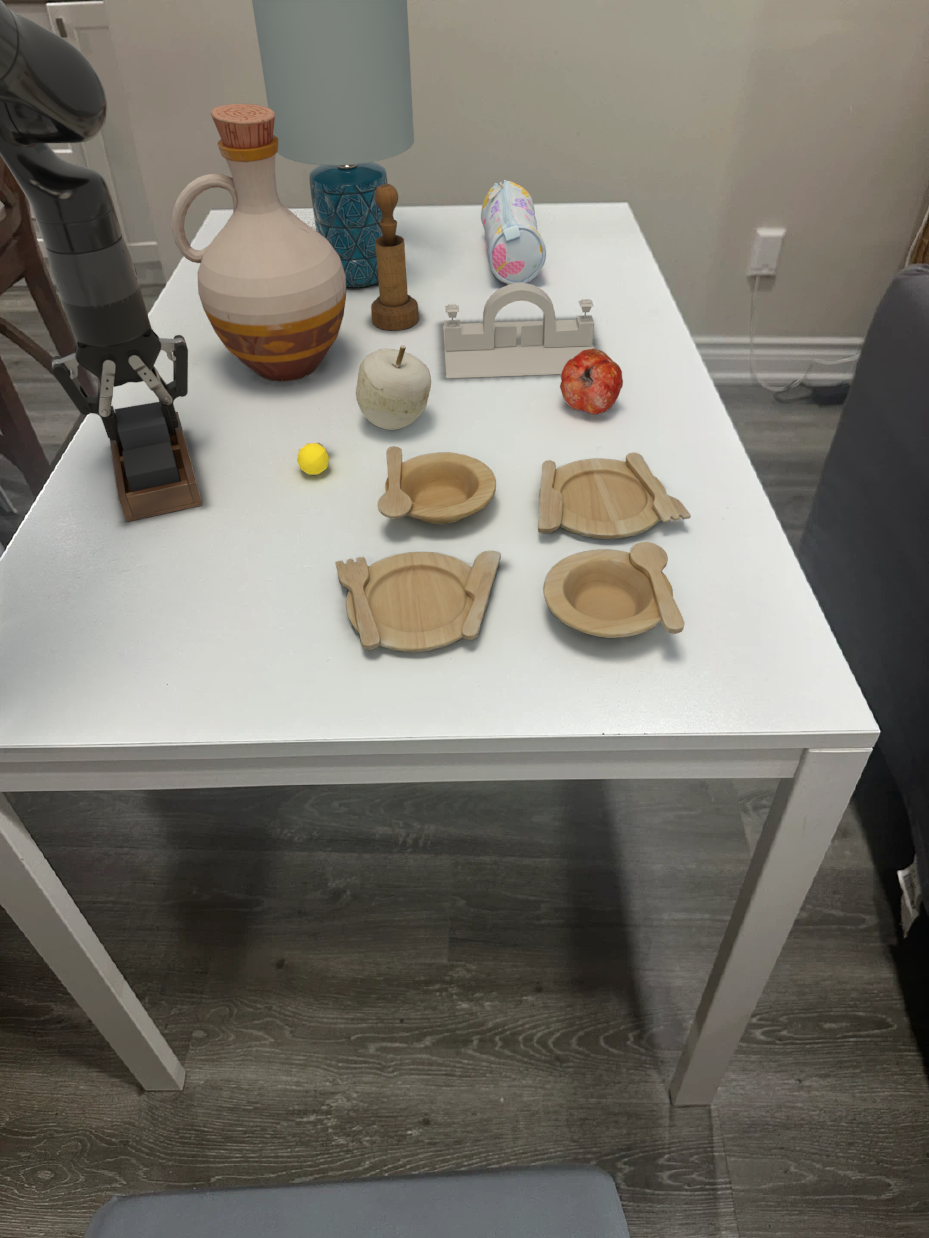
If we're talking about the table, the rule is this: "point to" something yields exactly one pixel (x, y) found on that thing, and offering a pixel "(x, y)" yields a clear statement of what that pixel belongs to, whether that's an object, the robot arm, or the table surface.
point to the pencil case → (512, 234)
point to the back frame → (160, 496)
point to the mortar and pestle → (391, 270)
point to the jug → (263, 259)
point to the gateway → (515, 338)
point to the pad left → (150, 466)
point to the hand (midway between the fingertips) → (145, 434)
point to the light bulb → (313, 458)
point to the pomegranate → (591, 381)
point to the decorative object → (392, 388)
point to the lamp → (340, 109)
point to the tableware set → (458, 594)
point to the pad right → (141, 426)
